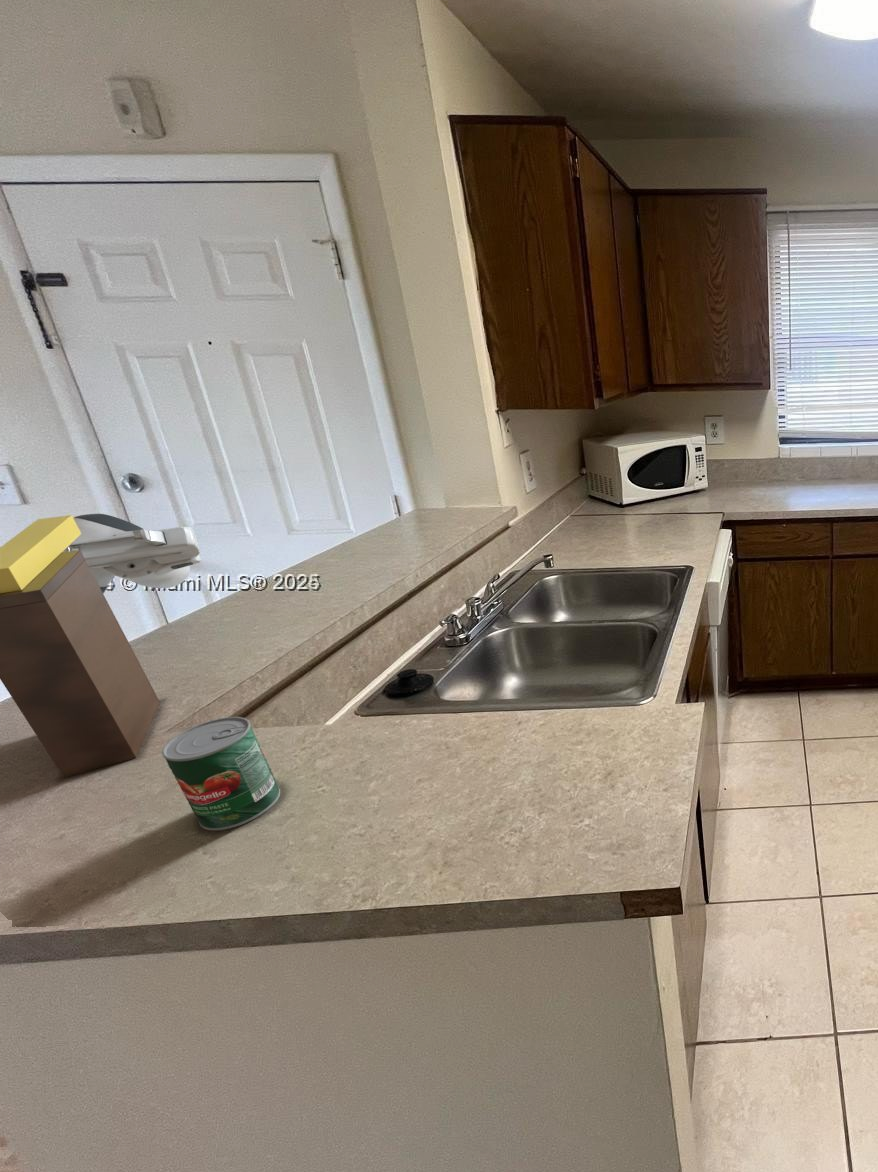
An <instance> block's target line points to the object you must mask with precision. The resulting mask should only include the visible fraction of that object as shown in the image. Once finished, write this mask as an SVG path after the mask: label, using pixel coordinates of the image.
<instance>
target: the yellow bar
mask: <svg viewBox="0 0 878 1172" xmlns="http://www.w3.org/2000/svg"><path fill="white" fill-rule="evenodd" d="M80 535H81V532H80V530H79V528H78V526H77V524H76V522H75V520H74V516H73V515H72V514H70V515H62V516H54V517H45V518H37V519H36V520H35V521H33V522H32V523H31V524H29V525H28V526H27V527H25V528H24V529H23V530H21V531H20V532H19V533H17V534H16V535H15V536H13V537H12V538H10V539H9V540H8V541H6V542H5V543H4V544H3V545H2V546H0V594H1V593H7V592H14V591H20V590H22V589H23V588H25V587H26V586H27V585H28V584H29V583H30V582H31V581H32V580H33V579H34V578H35V577H36V576H37V575H38V574H39V573H40V572H42V571H43V570H44V569H45V568H46V567H47V566H48V565H49V564H50V563H51V562H52V561H53V560H54V559H55V558H56V557H57V556H59V555H60V554H61V553H62V552H63V551H64V550H65V549H66V548H67V547H68V546H69V545H70V544H71V543H72V542H73V541H74V540H75V539H77V538H78V537H79V536H80Z"/></svg>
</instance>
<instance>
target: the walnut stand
mask: <svg viewBox="0 0 878 1172" xmlns="http://www.w3.org/2000/svg"><path fill="white" fill-rule="evenodd" d="M104 594H105V593H104ZM104 594H103V592H102V591H101V589H100V587H99V585H98V583H97V581H96V579H95V577H94V575H93V573H92V571H91V570H90V568H89V566H88V564H87V562H86V560H85V558H84V556H83V554H82V552H81V551H80V550H76V551H69V552H62V553H61V554H60V555H59V556H57V557H56V558H55V559H54V560H53V561H52V562H51V563H50V564H49V565H48V566H47V567H46V568H45V569H44V570H43V571H42V572H40V573H39V574H38V575H37V576H36V577H35V578H34V579H33V580H32V581H31V582H30V583H29V584H28V585H27V586H26V587H25V588H23V589H22V590H20V591H14V592H7V593H1V594H0V681H1V683H2V684H3V686H4V687H5V689H6V691H7V692H8V693H9V695H10V697H11V698H12V700H13V702H14V703H15V704H16V706H17V708H18V709H19V711H20V713H21V714H22V715H23V717H24V719H25V720H26V722H27V723H28V725H29V726H30V728H31V729H32V731H33V732H34V734H35V736H36V737H37V739H38V740H39V741H40V743H41V745H42V746H43V748H44V749H45V751H46V752H47V754H48V755H49V757H50V759H51V761H52V762H53V764H54V765H55V766H56V768H57V769H58V771H59V773H60V774H61V776H62V777H63V778H68V777H71V776H75V775H78V774H82V773H87V772H89V771H93V770H97V769H101V768H105V767H107V766H111V765H115V764H118V763H122V762H126V761H129V760H132V759H133V760H134V759H136V758H137V756H138V754H139V752H140V749H141V747H142V744H143V742H144V740H145V738H146V735H147V733H148V731H149V728H150V726H151V723H152V721H153V719H154V716H155V714H156V712H157V710H158V706H159V704H160V699H159V697H158V696H157V694H156V692H155V689H154V688H153V686H152V684H151V682H150V679H149V678H148V677H147V674H146V672H145V671H144V669H143V667H142V665H141V663H140V661H139V659H138V657H137V655H136V653H135V652H134V650H133V648H132V646H131V644H130V642H129V640H128V638H127V636H126V635H125V633H124V630H123V629H122V627H121V625H120V622H119V621H118V619H117V618H116V616H115V613H114V611H113V610H112V608H111V606H110V604H109V602H108V600H107V599H106V597H105V595H104Z"/></svg>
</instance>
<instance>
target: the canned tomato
mask: <svg viewBox="0 0 878 1172" xmlns="http://www.w3.org/2000/svg"><path fill="white" fill-rule="evenodd" d="M260 745H261V744H260V743H259V742H258V738H257V737H256V734H255V731H254V729H253V727H252V725H251V722H250V721H249V719H247V718H245V717H241V716H226V717H220V718H214V719H210V720H208V721H204V722H202V723H201V722H200V723H198V724H197V725H194V726H191V727H190V728H187V729H185V730H184V731H181V732H180V733H178V734H177V735H175V736H174V737H172V738H171V739H170V740H168V741H167V742H166V744H164V746H163V747H162V750H161V755H162V757H163V758H164V759H165V761H166V762H167V765H168V768H169V769H170V771H171V773H172V775H173V776H174V778H175V781H176V782H177V784H178V785H179V788H180V789H181V791H182V794H183V795H184V797H185V799H186V801H187V802H188V805H189V806H190V808H191V810H192V811H193V814H194V816H195V818H196V819H197V820H198V824H199V826H200V827H201V828H202V829H203V830H206V831H214V832H215V831H216V832H217V831H225V830H229V829H233V828H237V827H239V826H242V825H245V824H247V823H249V822H251V821H254V820H255V819H257V818H259V817H260V816H263V814H265V813H266V812H267V811H268V810H270V809H271V808H272V807H274V805H275V804H276V803H277V802H278V800H279V799H280V796H281V789H280V787H279V785H278V784H277V780H276V778H275V777H274V773H273V772H272V768H271V767H270V765H269V763H268V761H267V758H266V757H265V754H264V752H263V749H262V747H261V746H260Z"/></svg>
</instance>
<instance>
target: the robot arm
mask: <svg viewBox="0 0 878 1172" xmlns="http://www.w3.org/2000/svg"><path fill="white" fill-rule="evenodd" d="M73 518H74V520H75V522H76V524H77V526H78V528H79V530H80V532H81V535H80V536H79V537H78V538H77V539H75V540H74V541H73V542H72V543H71V544H70V545H69V546H68V547H67V548H66V549H65V550H64V551H63V552H69V551H76V550H80V551H81V552H82V554H83V556H84V558H85V560H86V562H87V564H88V566H89V568H90V570H91V571H92V573H93V575H94V577H95V579H96V581H97V583H98V585H99V587H100V589H101V591H102V592H103V594H105V592H106V590H107V589H108V587H109V586H108V585H109V584H110V583H111V582H112V581H113V579H114V578H115V577H118V578H120V579H123V580H126V581H130V582H132V583H134V584H137V585H139V586H143V587H146V588H153V589H171V588H174V587H177V586H179V585H180V584H182V583H184V581H186V580H187V578H189V575H190V572H191V566H194V565H196V564H199V563H201V561H202V560H201V549H200V546H199V542H198V539H197V535H196V532H195V530H194V528H192V527H190V526H176V527H169V528H163V529H156V530H147V529H145V528H142V527H141V526H139V525H137V524H134V523H132V522H130V521H127V520H125V519H122V518H119V517H117V516H113V515H109V514H105V513H89V514H88V513H87V514H80V515H77V516H73Z"/></svg>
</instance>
